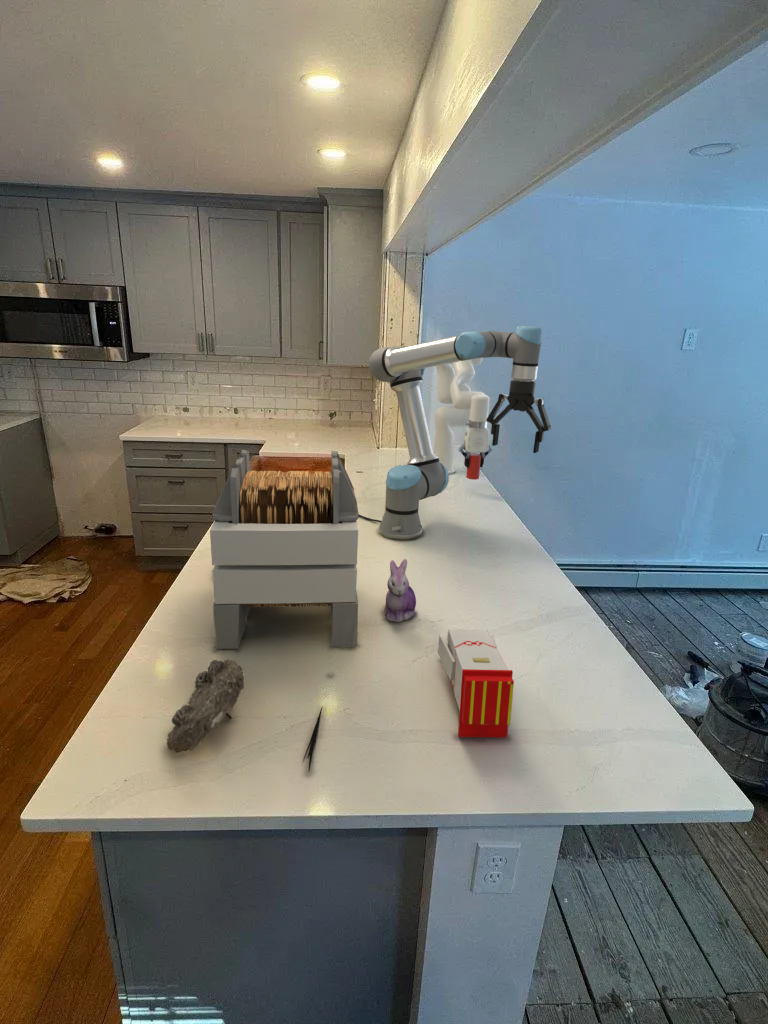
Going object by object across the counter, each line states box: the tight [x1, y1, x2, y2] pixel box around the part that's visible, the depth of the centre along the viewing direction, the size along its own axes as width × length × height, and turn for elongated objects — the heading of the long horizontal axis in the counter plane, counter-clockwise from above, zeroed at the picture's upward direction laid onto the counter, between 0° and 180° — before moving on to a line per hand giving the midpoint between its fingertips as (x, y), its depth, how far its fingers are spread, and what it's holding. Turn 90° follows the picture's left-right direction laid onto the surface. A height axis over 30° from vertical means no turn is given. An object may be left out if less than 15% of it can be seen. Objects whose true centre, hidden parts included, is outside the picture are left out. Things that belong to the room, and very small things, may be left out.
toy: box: [437, 628, 515, 738], centre depth 117 cm, size 12×13×30 cm
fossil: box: [166, 658, 245, 754], centre depth 106 cm, size 22×10×15 cm
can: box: [465, 452, 481, 480], centre depth 242 cm, size 6×6×10 cm
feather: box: [301, 673, 332, 771], centre depth 108 cm, size 2×28×2 cm
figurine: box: [384, 558, 417, 623], centre depth 145 cm, size 9×10×15 cm
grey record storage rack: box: [209, 449, 360, 651], centre depth 139 cm, size 34×33×41 cm
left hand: (514, 448), depth 179 cm, fingers open, 13 cm apart
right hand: (473, 466), depth 242 cm, fingers closed on can, 5 cm apart
